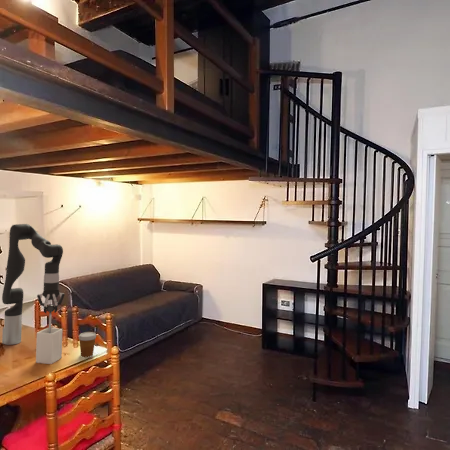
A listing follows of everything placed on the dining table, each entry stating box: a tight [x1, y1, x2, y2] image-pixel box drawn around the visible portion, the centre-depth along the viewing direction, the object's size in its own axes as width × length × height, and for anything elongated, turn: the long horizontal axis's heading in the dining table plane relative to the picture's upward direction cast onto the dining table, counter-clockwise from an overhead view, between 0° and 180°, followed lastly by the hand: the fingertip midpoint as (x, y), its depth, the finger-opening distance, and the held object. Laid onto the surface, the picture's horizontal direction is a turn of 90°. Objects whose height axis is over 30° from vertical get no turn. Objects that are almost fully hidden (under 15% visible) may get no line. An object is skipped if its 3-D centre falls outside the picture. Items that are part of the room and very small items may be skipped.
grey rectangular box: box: [35, 327, 63, 365], centre depth 195 cm, size 9×12×16 cm
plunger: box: [46, 304, 55, 334], centre depth 193 cm, size 7×7×17 cm
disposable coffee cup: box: [78, 331, 97, 358], centre depth 202 cm, size 10×10×12 cm
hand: (50, 312), depth 193 cm, fingers closed on plunger, 4 cm apart
